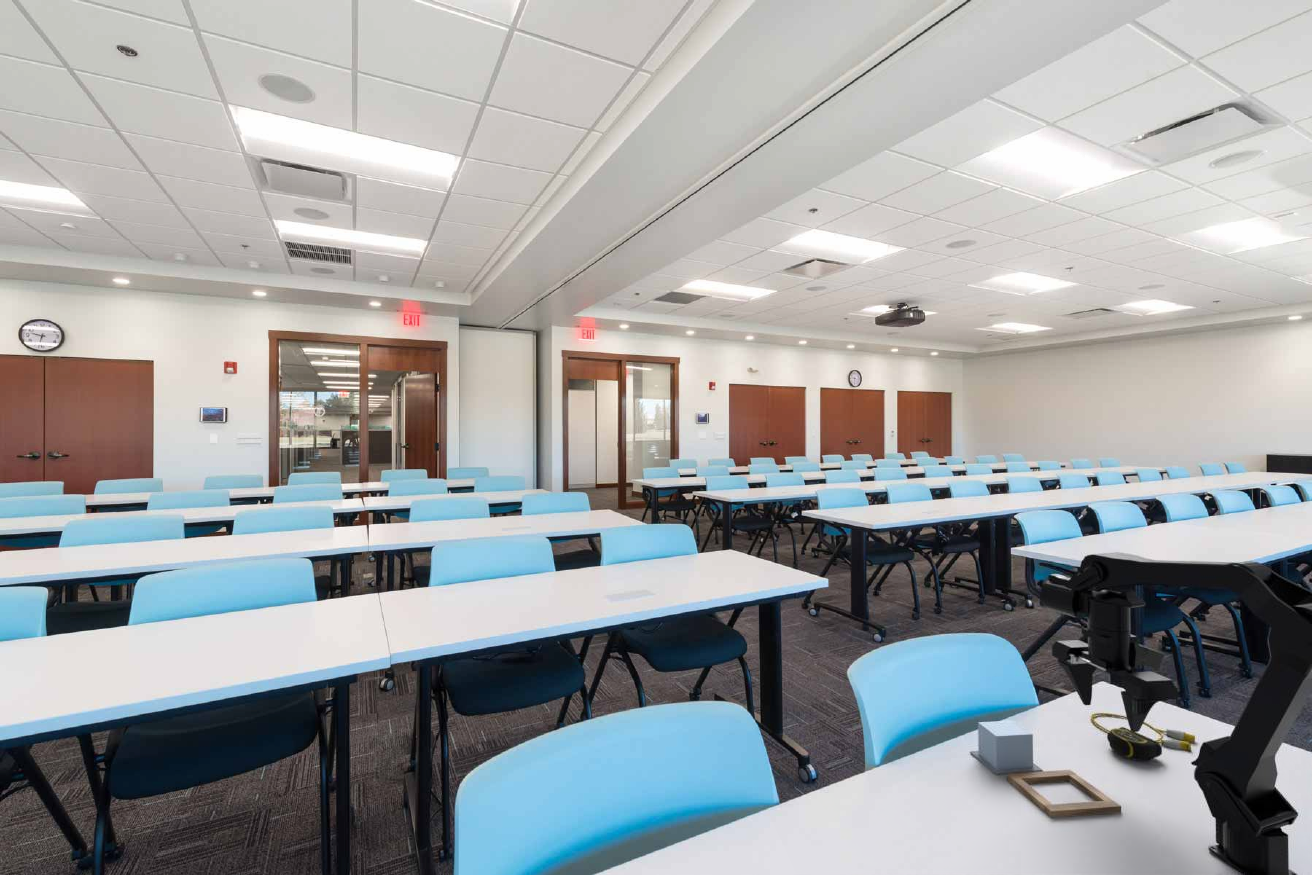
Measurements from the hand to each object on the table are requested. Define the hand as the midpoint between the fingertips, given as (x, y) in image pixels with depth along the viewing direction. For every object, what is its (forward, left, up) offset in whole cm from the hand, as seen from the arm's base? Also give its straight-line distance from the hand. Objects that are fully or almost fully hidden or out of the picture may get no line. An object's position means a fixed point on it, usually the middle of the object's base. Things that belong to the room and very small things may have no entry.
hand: (1109, 717), depth 96 cm
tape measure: (+9, -13, -12) cm, 21 cm away
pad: (+9, +12, -12) cm, 20 cm away
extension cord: (+16, -22, -13) cm, 30 cm away
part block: (+9, +12, -12) cm, 19 cm away
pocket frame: (-1, +10, -12) cm, 16 cm away
